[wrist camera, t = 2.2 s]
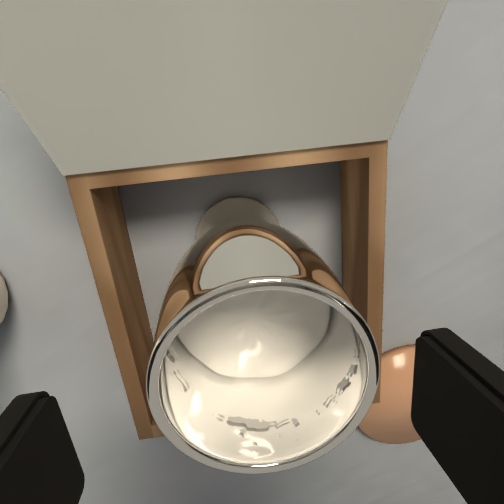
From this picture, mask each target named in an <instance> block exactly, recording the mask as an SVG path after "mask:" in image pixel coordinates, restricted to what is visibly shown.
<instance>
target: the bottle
mask: <svg viewBox="0 0 504 504" xmlns="http://www.w3.org/2000/svg"><path fill="white" fill-rule="evenodd" d="M7 308H8V290H7V287H6V284H5V281H4V278H3V277H2V275H1V274H0V324H1V322H2V321H3V320H4V317H5V314H6V311H7Z"/></svg>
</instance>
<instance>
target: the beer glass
mask: <svg viewBox="0 0 504 504" xmlns="http://www.w3.org/2000/svg"><path fill="white" fill-rule="evenodd" d="M379 376H380V359H379V352H378V348H377V344H376V341H375V338H374V336H373V333H372V331H371V329H370V328H369V326H368V324H367V323H366V321H365V320H364V318H363V317H362V316H361V315H360V313H359V312H358V311H357V310H356V308H355V307H354V305H353V303H352V302H351V300H350V298H349V297H348V295H347V293H346V292H345V290H344V289H343V287H342V285H341V284H340V282H339V281H338V279H337V278H336V276H335V275H334V274H333V272H332V271H331V270H330V268H329V267H328V266H327V264H326V263H325V262H324V261H323V259H322V258H321V257H320V256H319V255H318V254H317V253H316V252H315V251H314V250H313V249H312V248H311V247H310V246H309V245H308V244H307V243H306V242H305V241H304V240H302V239H301V238H300V237H299V236H297V235H296V234H294V233H292V232H291V231H289V230H287V229H285V228H284V227H282V226H280V225H279V222H278V220H277V218H276V217H275V215H274V214H273V212H272V211H271V210H270V209H269V208H267V207H266V206H265V205H263V204H262V203H260V202H258V201H256V200H254V199H251V198H246V197H232V198H228V199H224V200H222V201H220V202H218V203H216V204H214V205H213V206H212V207H210V208H209V209H208V210H207V211H206V212H205V214H204V215H203V216H202V218H201V220H200V222H199V224H198V227H197V231H196V241H195V242H194V243H193V245H192V246H191V247H190V248H189V249H188V251H187V252H186V253H185V254H184V256H183V257H182V259H181V260H180V262H179V263H178V265H177V267H176V269H175V271H174V274H173V276H172V278H171V280H170V282H169V285H168V287H167V290H166V294H165V297H164V300H163V303H162V307H161V311H160V315H159V320H158V325H157V329H156V334H155V340H154V346H153V351H152V353H151V356H150V359H149V363H148V367H147V373H146V394H147V400H148V404H149V408H150V411H151V414H152V416H153V418H154V420H155V422H156V424H157V426H158V427H159V429H160V430H161V431H162V433H163V434H164V435H165V437H166V438H167V439H168V440H169V441H170V442H171V443H172V444H173V445H174V446H175V447H176V448H177V449H179V450H180V451H181V452H183V453H184V454H185V455H187V456H189V457H190V458H192V459H194V460H196V461H198V462H200V463H202V464H204V465H207V466H210V467H212V468H216V469H219V470H223V471H228V472H234V473H244V474H263V473H272V472H278V471H283V470H288V469H292V468H295V467H298V466H301V465H304V464H306V463H309V462H311V461H313V460H315V459H317V458H319V457H321V456H323V455H325V454H326V453H328V452H329V451H331V450H332V449H334V448H335V447H337V446H338V445H339V444H341V443H342V442H343V441H344V440H345V439H346V438H347V437H348V436H349V435H350V434H351V433H352V432H353V431H354V430H355V429H356V428H357V427H358V425H359V424H360V423H361V422H362V420H363V419H364V417H365V416H366V414H367V412H368V411H369V409H370V407H371V405H372V402H373V400H374V397H375V394H376V391H377V387H378V383H379Z"/></svg>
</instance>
